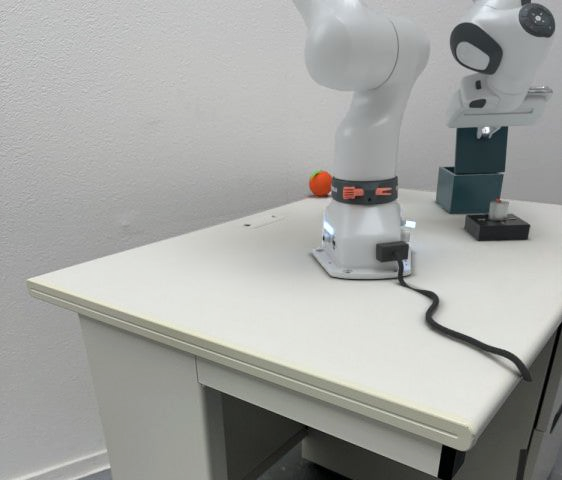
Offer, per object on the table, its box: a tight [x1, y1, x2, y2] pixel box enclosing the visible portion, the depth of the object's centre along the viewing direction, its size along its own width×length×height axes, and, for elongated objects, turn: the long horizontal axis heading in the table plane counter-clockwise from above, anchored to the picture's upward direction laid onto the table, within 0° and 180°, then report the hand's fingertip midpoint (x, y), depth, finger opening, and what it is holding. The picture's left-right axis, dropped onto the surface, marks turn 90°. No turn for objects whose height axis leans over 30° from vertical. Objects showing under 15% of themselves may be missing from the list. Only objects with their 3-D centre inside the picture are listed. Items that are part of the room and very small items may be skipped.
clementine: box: [308, 169, 333, 197], centre depth 154 cm, size 8×7×7 cm
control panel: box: [463, 213, 531, 242], centre depth 114 cm, size 10×10×3 cm
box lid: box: [454, 126, 509, 174], centre depth 126 cm, size 16×12×1 cm
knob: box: [488, 198, 510, 221], centre depth 112 cm, size 4×4×4 cm
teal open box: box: [435, 165, 505, 215], centre depth 136 cm, size 15×12×9 cm
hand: (483, 135), depth 125 cm, fingers closed, pressing on box lid
